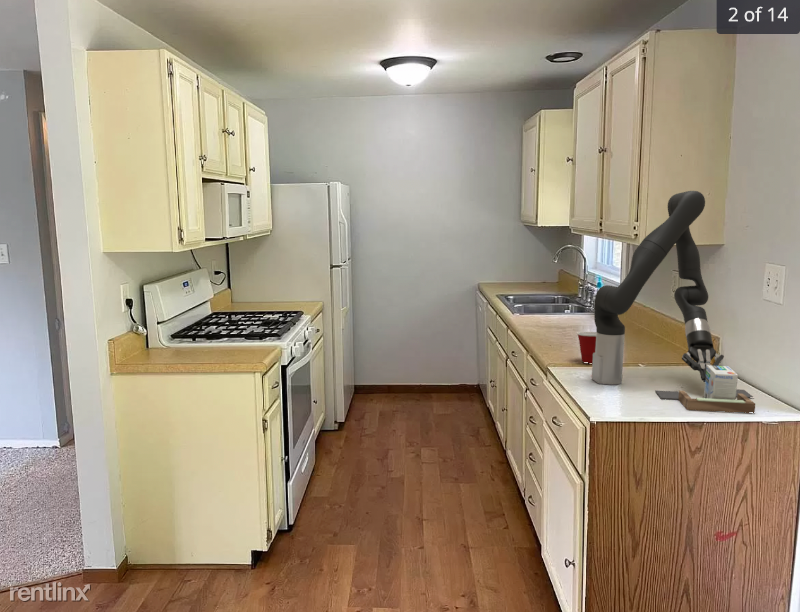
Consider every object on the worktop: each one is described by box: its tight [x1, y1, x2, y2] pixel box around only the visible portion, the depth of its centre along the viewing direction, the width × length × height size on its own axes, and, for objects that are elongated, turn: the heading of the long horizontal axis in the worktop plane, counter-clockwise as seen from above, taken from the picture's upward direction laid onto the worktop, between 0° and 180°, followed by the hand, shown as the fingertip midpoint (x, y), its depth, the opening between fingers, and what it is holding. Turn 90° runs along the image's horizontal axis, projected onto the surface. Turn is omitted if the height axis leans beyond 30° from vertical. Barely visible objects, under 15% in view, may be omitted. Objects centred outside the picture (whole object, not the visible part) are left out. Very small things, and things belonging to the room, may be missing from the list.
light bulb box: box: [703, 364, 739, 400], centre depth 188 cm, size 11×7×11 cm, turn 166°
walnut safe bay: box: [678, 390, 756, 414], centre depth 186 cm, size 10×18×3 cm, turn 80°
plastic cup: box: [576, 331, 596, 363], centre depth 238 cm, size 11×11×12 cm
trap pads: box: [655, 389, 754, 401], centre depth 197 cm, size 14×29×1 cm, turn 80°
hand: (707, 381), depth 194 cm, fingers closed
